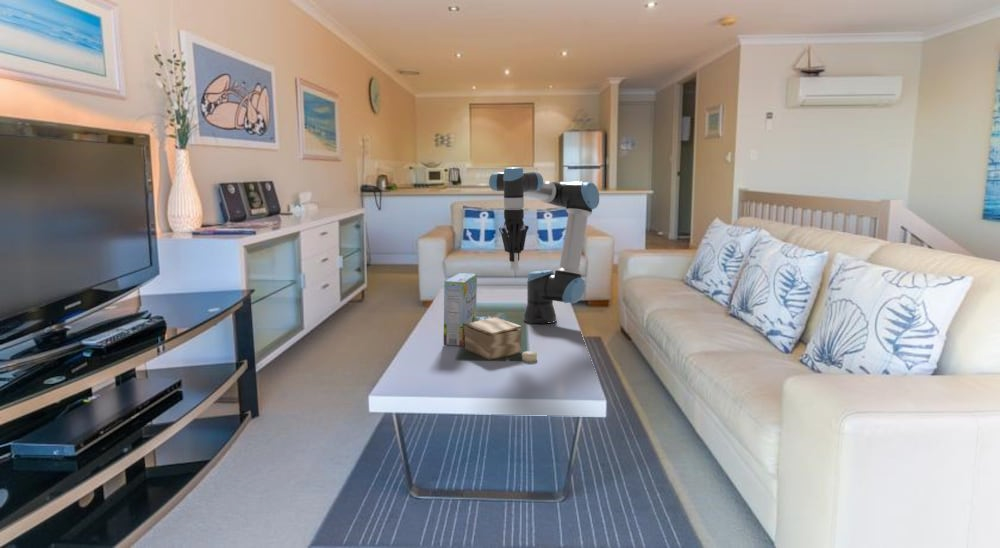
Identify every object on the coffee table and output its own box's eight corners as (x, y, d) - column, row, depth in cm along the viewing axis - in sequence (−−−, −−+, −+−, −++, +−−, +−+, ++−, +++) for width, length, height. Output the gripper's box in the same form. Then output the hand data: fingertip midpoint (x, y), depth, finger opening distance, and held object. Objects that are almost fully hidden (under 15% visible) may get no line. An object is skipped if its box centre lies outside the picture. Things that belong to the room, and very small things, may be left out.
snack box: (464, 347, 221) (464, 282, 216) (442, 345, 222) (442, 281, 218) (477, 332, 242) (477, 272, 237) (457, 331, 243) (457, 272, 239)
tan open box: (496, 342, 226) (496, 321, 225) (520, 352, 214) (521, 329, 212) (465, 349, 218) (465, 326, 216) (489, 360, 205) (489, 335, 204)
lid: (489, 335, 203) (489, 333, 203) (464, 325, 217) (464, 323, 217) (521, 327, 212) (521, 325, 212) (495, 318, 225) (495, 317, 225)
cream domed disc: (530, 356, 210) (530, 350, 209) (539, 360, 205) (539, 353, 205) (519, 359, 207) (519, 352, 206) (528, 362, 202) (528, 356, 202)
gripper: (521, 207, 223) (521, 266, 228) (494, 209, 216) (495, 270, 221) (533, 208, 218) (533, 268, 222) (506, 210, 210) (506, 273, 215)
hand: (514, 269), depth 221 cm, fingers closed
